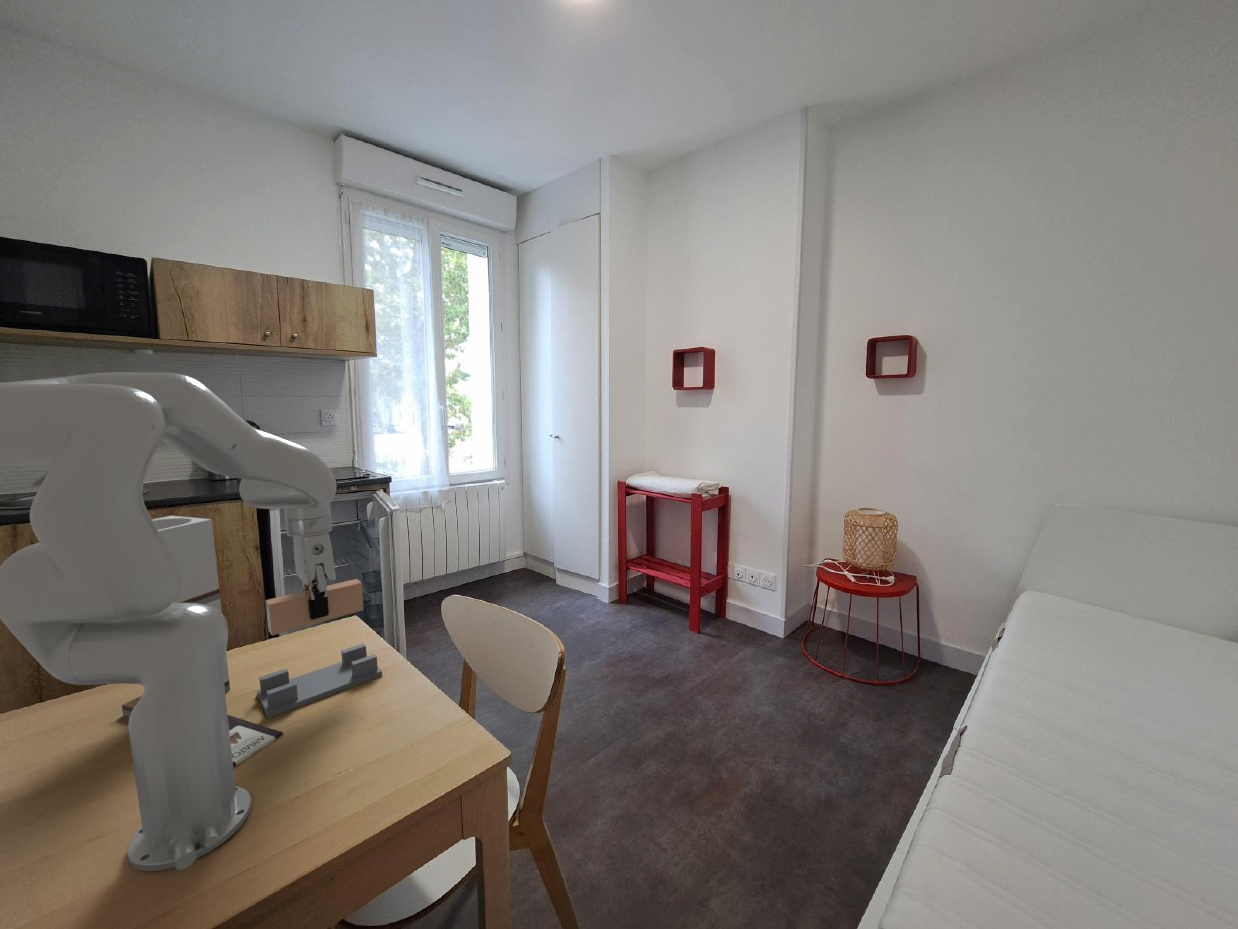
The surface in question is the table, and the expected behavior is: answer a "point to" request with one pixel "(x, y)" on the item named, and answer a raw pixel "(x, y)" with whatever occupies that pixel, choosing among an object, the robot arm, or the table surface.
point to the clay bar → (295, 607)
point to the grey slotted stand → (316, 682)
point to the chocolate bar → (248, 738)
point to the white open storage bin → (191, 568)
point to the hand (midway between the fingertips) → (316, 613)
